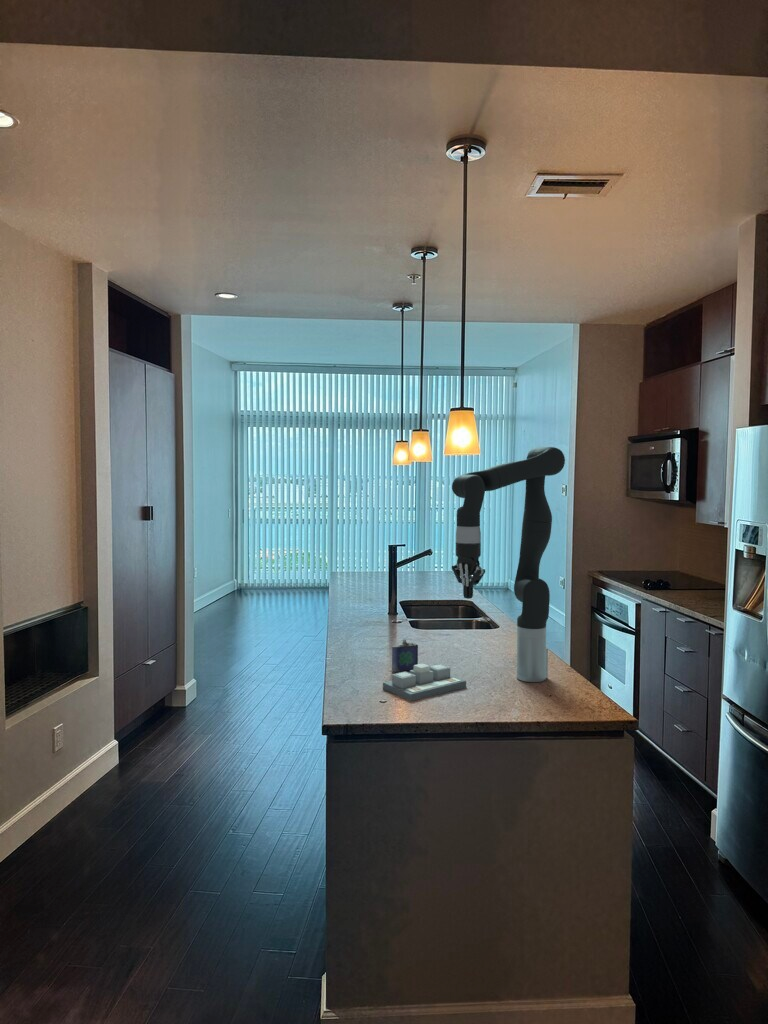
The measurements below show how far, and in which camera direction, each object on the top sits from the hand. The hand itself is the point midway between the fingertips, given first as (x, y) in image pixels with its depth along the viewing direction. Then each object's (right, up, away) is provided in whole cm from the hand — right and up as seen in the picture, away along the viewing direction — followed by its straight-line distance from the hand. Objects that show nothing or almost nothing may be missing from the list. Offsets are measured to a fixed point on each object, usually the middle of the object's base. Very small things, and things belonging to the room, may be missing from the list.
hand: (468, 598), depth 203 cm
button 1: (-19, -27, +3) cm, 33 cm away
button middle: (-14, -25, +7) cm, 29 cm away
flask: (-18, -28, +24) cm, 41 cm away
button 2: (-8, -26, +11) cm, 30 cm away
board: (-13, -29, +6) cm, 32 cm away
